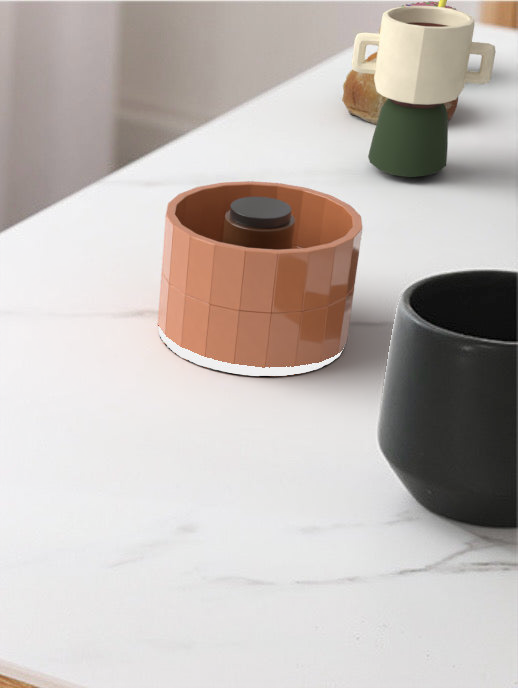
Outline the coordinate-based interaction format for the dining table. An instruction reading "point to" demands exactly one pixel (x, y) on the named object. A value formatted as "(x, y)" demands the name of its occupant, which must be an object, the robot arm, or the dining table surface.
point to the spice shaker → (259, 224)
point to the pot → (259, 278)
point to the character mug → (419, 83)
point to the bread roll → (371, 96)
